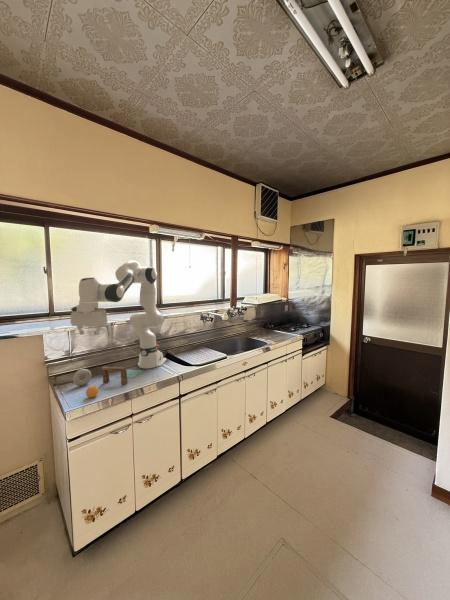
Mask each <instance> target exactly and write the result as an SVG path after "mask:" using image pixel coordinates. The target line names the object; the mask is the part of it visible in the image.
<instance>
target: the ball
mask: <svg viewBox="0 0 450 600" xmlns="http://www.w3.org/2000/svg"><path fill="white" fill-rule="evenodd" d="M85 394H86V396H87V397H88V398H94V397H97V395H98V394H99V388H98V387H97V386H96V385H90V386H89V387H87V388H86V390H85Z"/></svg>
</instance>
